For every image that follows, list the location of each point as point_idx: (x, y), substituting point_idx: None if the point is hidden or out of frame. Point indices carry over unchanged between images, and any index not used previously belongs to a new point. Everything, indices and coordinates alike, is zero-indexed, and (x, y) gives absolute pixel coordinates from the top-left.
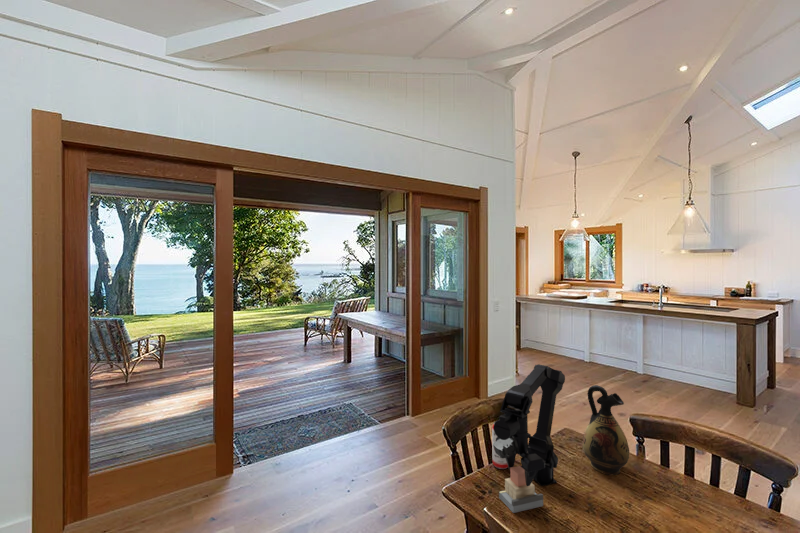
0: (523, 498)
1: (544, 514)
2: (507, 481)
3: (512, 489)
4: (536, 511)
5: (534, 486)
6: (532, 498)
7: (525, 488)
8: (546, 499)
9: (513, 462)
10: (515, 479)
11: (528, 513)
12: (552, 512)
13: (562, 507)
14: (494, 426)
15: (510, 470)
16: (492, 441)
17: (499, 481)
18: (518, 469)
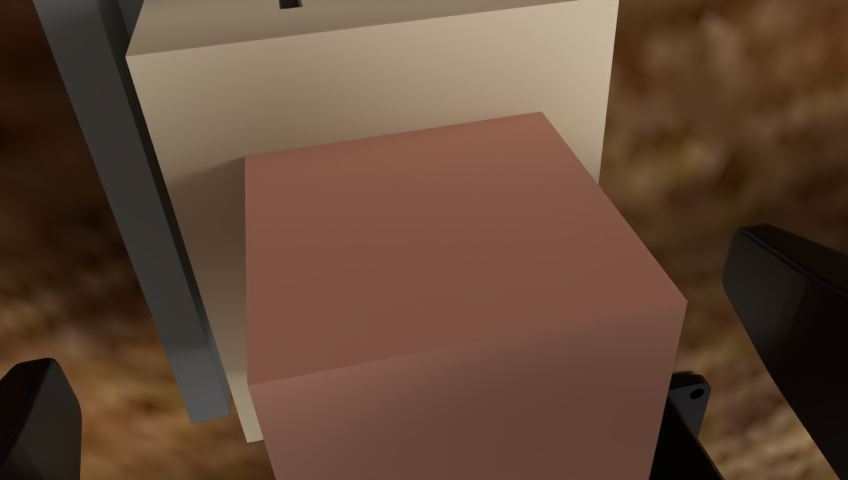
0: (102, 126)
1: (16, 267)
2: (505, 8)
3: (278, 10)
4: (84, 201)
5: (246, 425)
6: (141, 267)
7: (199, 278)
8: None
9: (833, 438)
10: (356, 209)
11: (32, 76)
12: (62, 358)
13: (154, 462)
14: None
15: (639, 243)
16: None
17: (828, 9)
18: (495, 466)
